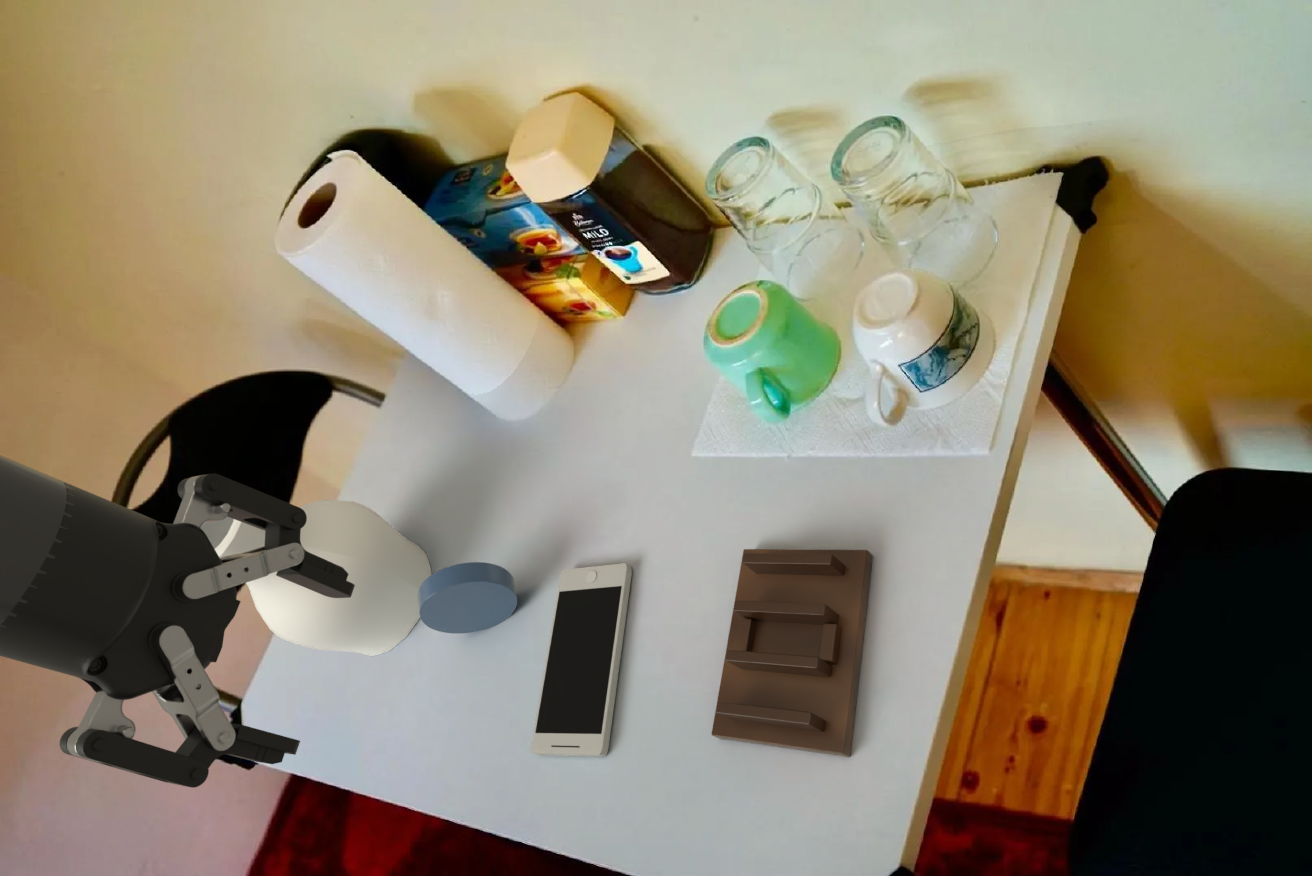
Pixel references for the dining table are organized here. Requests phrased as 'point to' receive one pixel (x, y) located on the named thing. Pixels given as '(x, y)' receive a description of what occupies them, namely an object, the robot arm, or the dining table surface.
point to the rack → (795, 650)
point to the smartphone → (582, 662)
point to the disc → (467, 597)
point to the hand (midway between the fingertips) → (318, 666)
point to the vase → (374, 566)
